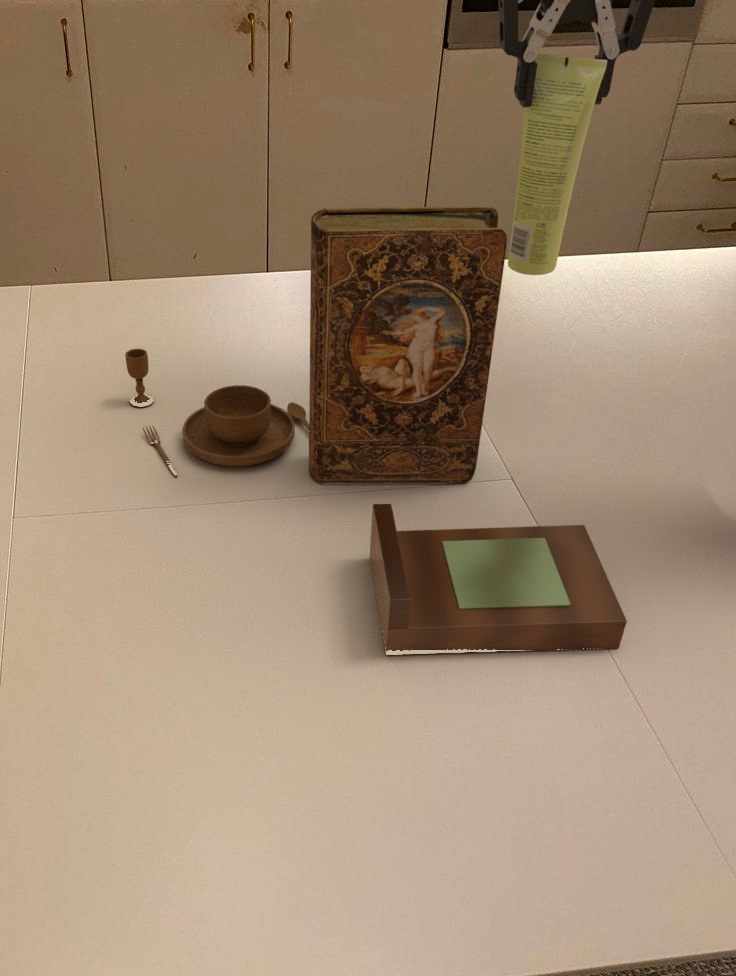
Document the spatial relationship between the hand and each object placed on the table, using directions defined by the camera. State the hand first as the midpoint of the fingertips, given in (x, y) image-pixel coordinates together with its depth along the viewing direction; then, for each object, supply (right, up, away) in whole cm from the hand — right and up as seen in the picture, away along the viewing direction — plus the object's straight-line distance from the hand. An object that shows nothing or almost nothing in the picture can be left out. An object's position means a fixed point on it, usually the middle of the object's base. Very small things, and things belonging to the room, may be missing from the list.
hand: (559, 103), depth 92 cm
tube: (+1, -12, +11) cm, 16 cm away
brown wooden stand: (-9, -47, -7) cm, 48 cm away
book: (-15, -33, +8) cm, 37 cm away
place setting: (-32, -27, +16) cm, 45 cm away
